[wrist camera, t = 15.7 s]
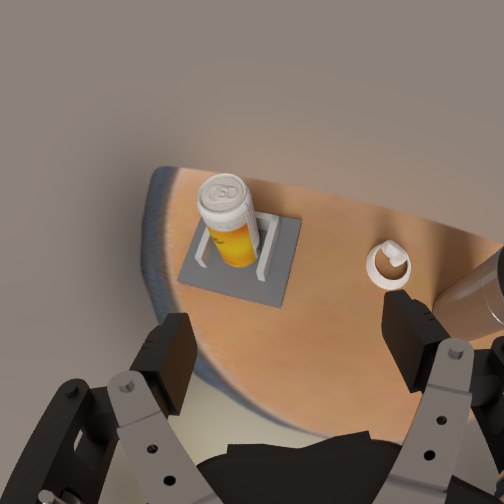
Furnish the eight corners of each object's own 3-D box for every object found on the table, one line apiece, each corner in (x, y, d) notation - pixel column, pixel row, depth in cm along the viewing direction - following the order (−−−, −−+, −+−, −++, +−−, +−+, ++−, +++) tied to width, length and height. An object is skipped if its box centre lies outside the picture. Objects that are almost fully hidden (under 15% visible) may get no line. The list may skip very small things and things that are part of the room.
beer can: (224, 231, 46) (200, 170, 32) (263, 233, 45) (253, 170, 32) (218, 267, 44) (188, 215, 30) (258, 271, 43) (245, 217, 29)
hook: (339, 273, 37) (364, 225, 35) (363, 271, 47) (383, 234, 45) (386, 304, 33) (414, 254, 31) (400, 294, 43) (421, 256, 41)
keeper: (301, 224, 46) (302, 208, 42) (280, 308, 41) (279, 299, 37) (208, 207, 50) (201, 191, 46) (179, 282, 45) (168, 271, 40)
